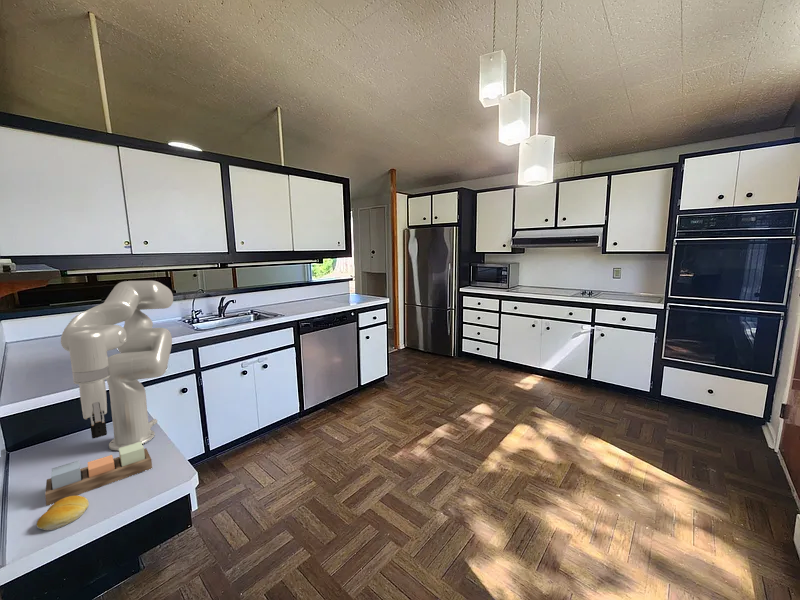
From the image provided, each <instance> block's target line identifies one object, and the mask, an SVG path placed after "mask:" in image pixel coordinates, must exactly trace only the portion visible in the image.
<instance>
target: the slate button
mask: <svg viewBox="0 0 800 600" xmlns="http://www.w3.org/2000/svg"><path fill="white" fill-rule="evenodd" d="M80 469H81V464H80V459H78V460H76V461H75V460H74V461H72V462H69V463H66V464H61V465H59V466H56V467H52V468H51V473H50V474H51V475H50V478H51V479H52V487H53V490H54V489H57V488H60V487H63V486H66V485H69V484H72V483H75V482H78V481H81V471H80Z"/></svg>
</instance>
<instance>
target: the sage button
mask: <svg viewBox="0 0 800 600" xmlns="http://www.w3.org/2000/svg"><path fill="white" fill-rule="evenodd" d="M144 449H145V447H144V444H143V445H142V442H138V443H135V444H131V445H128V446H125V447H121V448H119V450H118V453H119V455H118V457H120V463H121V466H122V467H123V466H126V465H129V464H132V463H135V462H138V461H141V460H144V459H145V453H144Z"/></svg>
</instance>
